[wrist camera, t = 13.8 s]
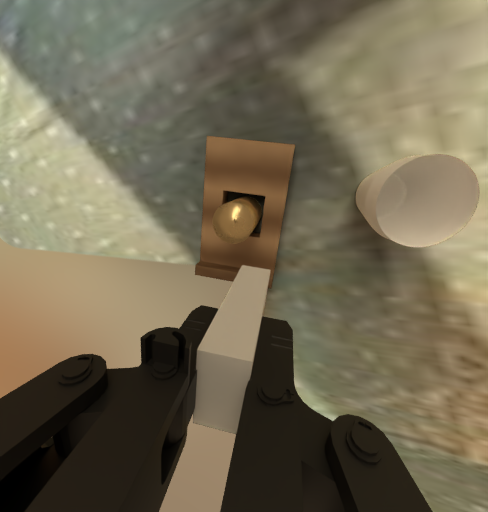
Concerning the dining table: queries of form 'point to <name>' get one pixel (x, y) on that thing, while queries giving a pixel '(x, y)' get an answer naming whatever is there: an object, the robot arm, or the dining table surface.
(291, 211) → the dining table surface
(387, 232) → the cup
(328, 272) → the dining table surface
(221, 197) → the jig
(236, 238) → the golden brass cylinder
